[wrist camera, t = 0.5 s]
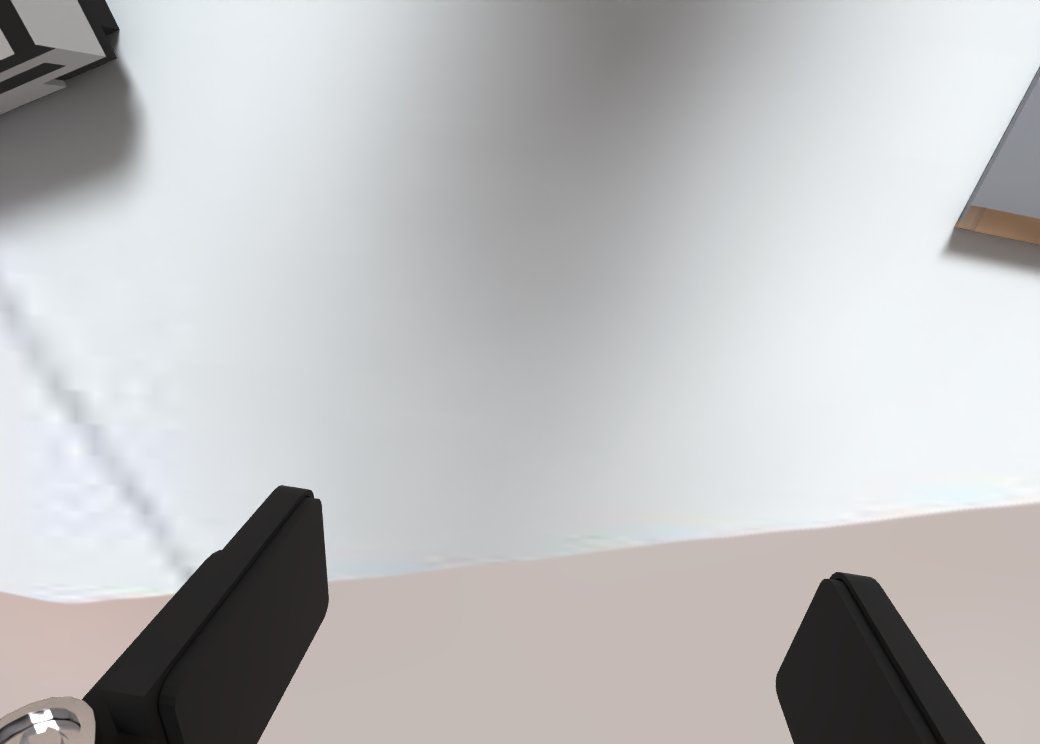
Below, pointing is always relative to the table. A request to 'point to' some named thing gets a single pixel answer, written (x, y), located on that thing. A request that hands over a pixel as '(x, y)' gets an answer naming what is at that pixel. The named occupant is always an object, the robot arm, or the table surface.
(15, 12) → the game console
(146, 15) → the table surface
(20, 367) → the table surface
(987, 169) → the slate mat
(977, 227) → the walnut stop strip
